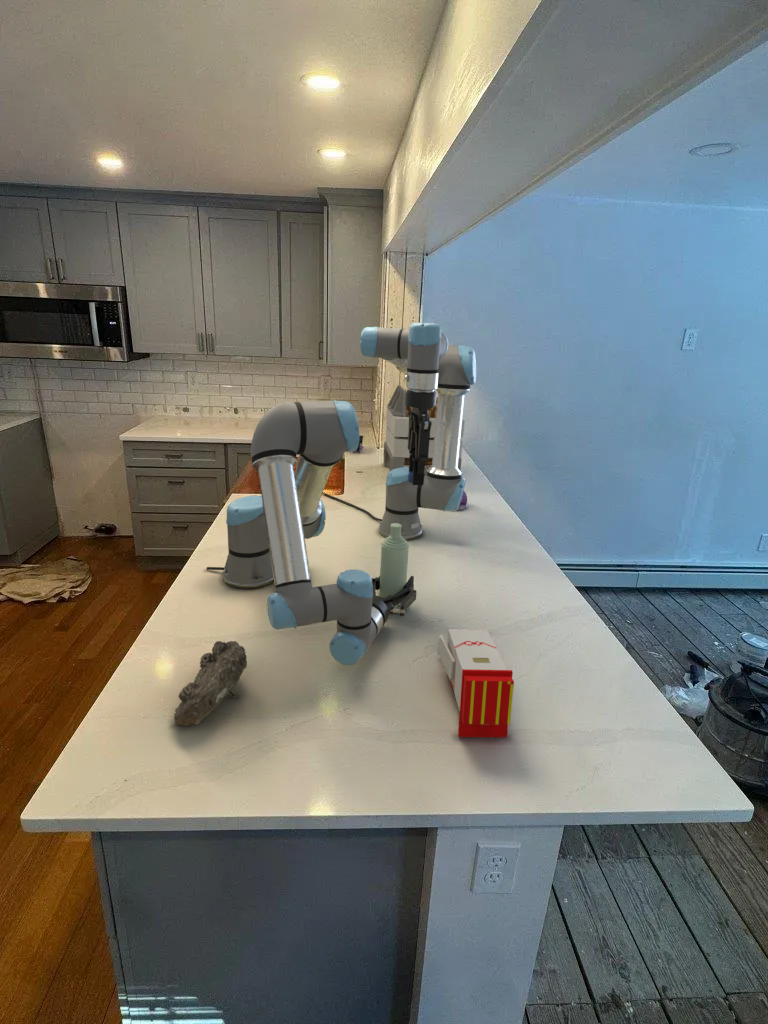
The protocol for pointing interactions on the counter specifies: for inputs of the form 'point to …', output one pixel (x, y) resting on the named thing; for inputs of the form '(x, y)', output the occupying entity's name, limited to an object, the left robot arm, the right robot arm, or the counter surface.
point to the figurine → (463, 500)
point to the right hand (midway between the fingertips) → (415, 481)
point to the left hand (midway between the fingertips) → (398, 577)
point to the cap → (410, 477)
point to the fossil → (211, 682)
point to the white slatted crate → (406, 432)
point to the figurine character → (360, 444)
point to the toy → (478, 682)
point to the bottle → (393, 562)
